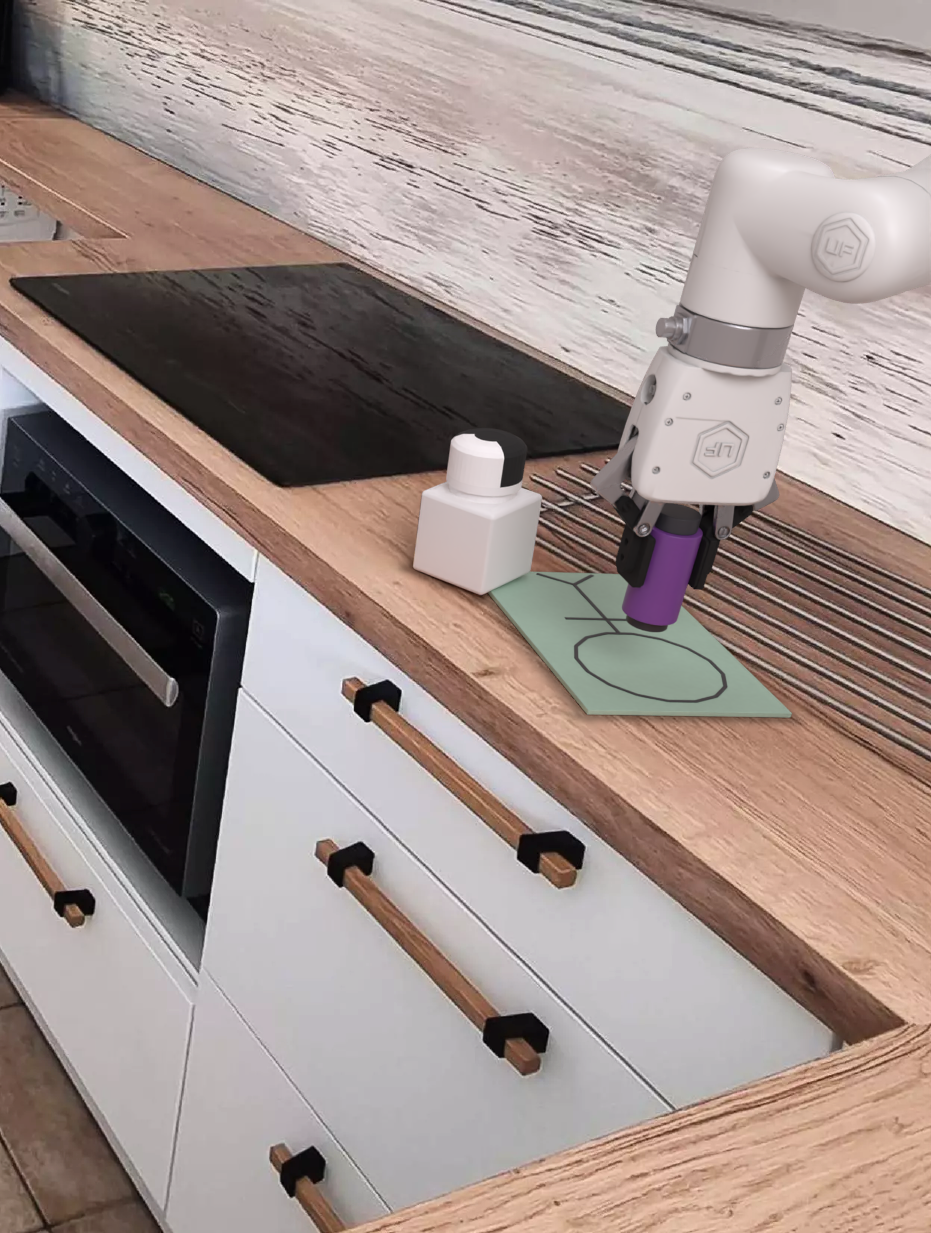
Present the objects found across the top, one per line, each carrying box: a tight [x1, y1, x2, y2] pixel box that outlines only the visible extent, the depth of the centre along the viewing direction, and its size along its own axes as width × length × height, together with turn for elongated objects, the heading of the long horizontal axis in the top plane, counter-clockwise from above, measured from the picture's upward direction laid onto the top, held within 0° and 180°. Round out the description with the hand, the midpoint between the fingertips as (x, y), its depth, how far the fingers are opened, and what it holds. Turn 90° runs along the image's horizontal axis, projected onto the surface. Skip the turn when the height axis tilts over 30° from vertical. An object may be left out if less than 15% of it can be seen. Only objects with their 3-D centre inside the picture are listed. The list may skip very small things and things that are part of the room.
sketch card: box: [486, 571, 793, 719], centre depth 139 cm, size 24×16×1 cm, turn 8°
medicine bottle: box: [412, 427, 543, 596], centre depth 145 cm, size 7×7×12 cm
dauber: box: [622, 503, 703, 632], centre depth 128 cm, size 4×4×9 cm
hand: (659, 578), depth 128 cm, fingers closed on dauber, 4 cm apart
